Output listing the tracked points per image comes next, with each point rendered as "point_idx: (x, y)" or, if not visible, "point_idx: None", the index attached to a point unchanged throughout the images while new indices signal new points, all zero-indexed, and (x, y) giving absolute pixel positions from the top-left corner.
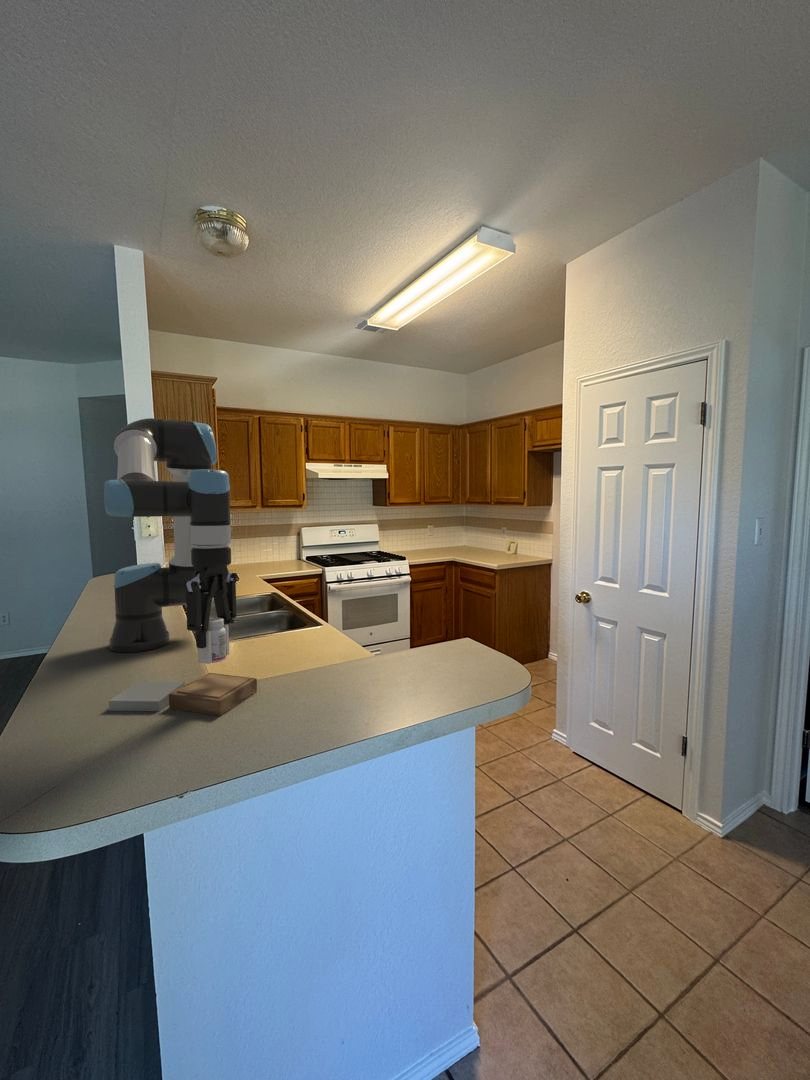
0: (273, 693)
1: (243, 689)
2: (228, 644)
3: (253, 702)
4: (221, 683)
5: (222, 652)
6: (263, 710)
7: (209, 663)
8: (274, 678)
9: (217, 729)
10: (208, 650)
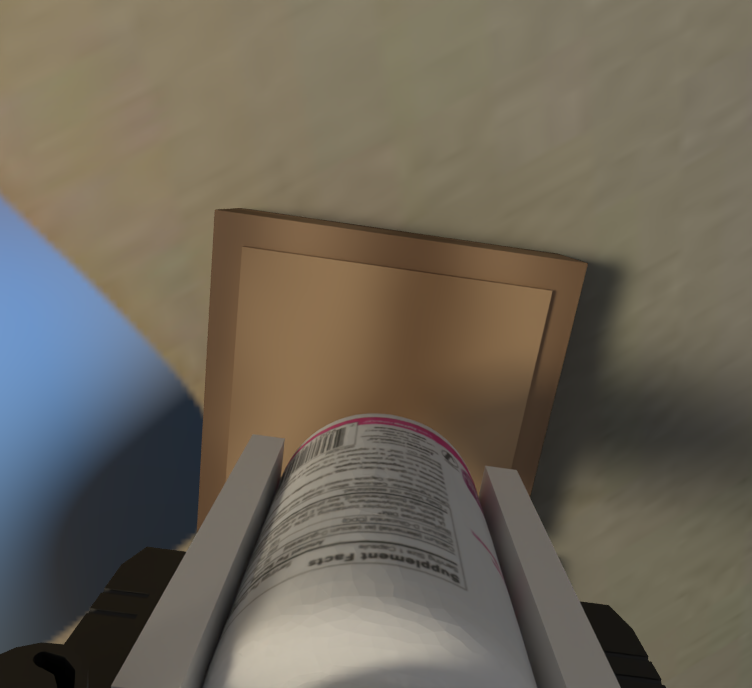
0: (238, 94)
1: (363, 229)
2: (235, 484)
3: (377, 159)
4: (354, 382)
5: (407, 446)
6: (471, 46)
7: (515, 471)
8: (23, 194)
9: (698, 193)
10: (551, 549)
